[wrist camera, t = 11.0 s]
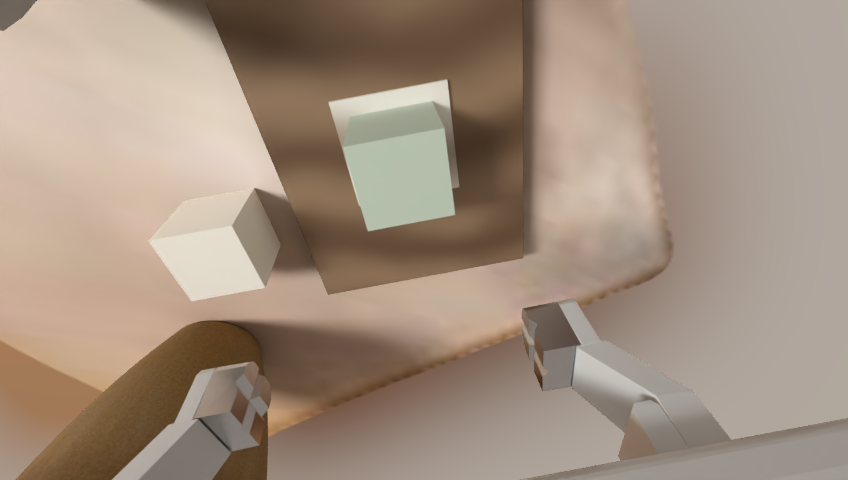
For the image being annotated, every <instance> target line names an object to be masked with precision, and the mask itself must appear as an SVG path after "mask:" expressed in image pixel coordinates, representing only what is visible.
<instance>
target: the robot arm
mask: <svg viewBox="0 0 848 480" xmlns="http://www.w3.org/2000/svg"><path fill="white" fill-rule="evenodd" d="M522 319H523V322H524V324H525V325H524V326H523V327H522V336H523V341H524V346H525V349H526V352H527V354H528V357H529V359H531V360H532V361H533V362H534V372H535V374H536V377H537V379H538V382H539V384H540V387H541V389H542V391H548V390H554V389H560V388H566V387H572V389H573V390H575V391H576V392H577V393H578V394H580V395H581V396H582V397H583V398H584V399H585V400H587V401H588V402H589V403H590V404H591V405H593V406H594V407H595V408H596V409H597V410H598V411H600V412H601V413H602V414H603V415H605V416H606V417H607V418H608V419H609V420H610V421H611V422H613V423H614V424H615V425H616V426H617V427H619V428H620V429H621V430H622V431H623V432H625V435H624V438H623V441H622V445H621V448H620V451H619V455H618V456H619V459H620V461H617V462H612V463H607V464H602V465H597V466H591V467H586V468H581V469H575V470H570V471H564V472H559V473H554V474H549V475H543V476H538V477H532V478H527V479H522V480H848V418H846V419H841V420H835V421H830V422H824V423H820V424H814V425H808V426H803V427H798V428H793V429H788V430H782V431H777V432H772V433H766V434H761V435H755V436H750V437H745V438H740V439H734V440H731V439H730V438H729V436H728V435H727V434H726V432H725V431H724V430H723V429H722V427H721V426H720V425H719V423H718V422H717V421H716V420H715V418H714V417H713V416H712V414H711V413H710V412H709V410H708V409H707V408H706V407H705V405H704V404H703V403H702V401H701V400H700V399H699V397H698V396H697V395H696V394H695V392H694V391H693V390H691V389H689V388H688V387H686V386H684V385H683V384H681V383H679V382H677V381H676V380H674V379H672V378H670V377H669V376H667V375H665V374H664V373H662V372H660V371H658V370H657V369H655V368H653V367H651V366H650V365H648V364H646V363H645V362H643V361H641V360H639V359H637V358H636V357H634V356H632V355H631V354H629V353H627V352H625V351H624V350H622V349H620V348H618V347H617V346H615V345H613V344H612V343H610V342H608V341H601V340H600V339H599V337H598V335H597V334H596V332H595V331H594V329H593V327H592V326H591V324H590V323H589V321H588V320H587V318H586V316H585V315H584V313H583V312H582V310H581V308H580V307H579V305H578V304H577V302H576V301H575V300H574V299H569V300H564V301H559V302H552V303H548V304H543V305H538V306H533V307H528V308H523V309H522ZM258 371H259V367H258V366H257V365H256V363H255V362H246V363H240V364H234V365H228V366H222V367H217V368H212V369H206V370H201V371H200V372H199V373H198V374H197V375H196V377H195V379H194V382H193V384H192V386H191V388H190V390H189V392H188V395H187V397H186V399H185V401H184V403H183V405H182V408H181V410H180V412H179V414H178V416H177V418H176V420H175V423H173V424H169V425H168V426H167V427H166V428H165V429H164V430H163V431H162V432H161V433H160V434H159V435H158V436H157V437H156V438H155V439H153V440H152V441H151V442H150V443H149V444H148V445H147V446H146V447H145V448H144V449H143V450H142V451H141V452H140V453H139V454H138V455H137V456H136V457H135V458H134V459H133V460H132V461H131V462H130V463H129V464H128V465H127V466H126V467H125V468H123V469H122V470H121V471H120V472H119V473H118V474H117V475H116V476H115V477H114V478H113V479H112V480H212V479H213V478H214V476H215V475H216V474H217V472H218V471H219V469H220V468H221V467H222V465H223V464H224V462H225V461H226V460H227V458H228V457H229V456H230V454H231V451H236V450H240V449H245V448H250V447H254V446H259V445H260V441H261V437H262V433H263V430H264V426H265V421H264V420H263V418H262V416H263V415H264V414H265V412H266V411H267V410H268V409H269V406H270V401H271V388H270V385H269V382H268V380H267V379H266V377H264V376H262V375H259V374H258Z"/></svg>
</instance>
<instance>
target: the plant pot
mask: <svg viewBox="0 0 848 480" xmlns="http://www.w3.org/2000/svg"><path fill="white" fill-rule="evenodd" d="M246 362H255V363H256V365H257V366H258V367H259V371H258V374H259V375H262V376H264V369H263V362H262V356H261V351H260V347H259V344H258V342H257V341H256V340H255V338H254V337H253V336H252V335H251V334H250V333H248V332H247V331H245V330H244V329H242V328H240V327H237V326H235V325H232V324H229V323H224V322H219V321H203V322H197V323H193V324H190V325H188V326H186V327H184V328H182V329H181V330H180V331H178V332H177V333H175V334H174V335H173V336H171V337H170V338H169V339H167V340H166V341H165V342H163V343H162V344H161V345H159V346H158V347H157V348H155V349H154V350H153V351H151V352H150V353H149V354H148V355H146V356H145V357H144V358H143V359H141V360H140V361H139V362H138V363H137V364H135V365H134V366H133V367H132V368H131V369H129V370H128V371H127V372H126V373H125V374H123V375H122V376H121V377H120V378H119V379H118V380H117V381H115V382H114V383H113V384H112V385H111V386H110V387H109V388H108V389H106V390H105V391H104V392H103V393H102V394H101V395H100V396H99V397H98V398H97V399H95V400H94V401H93V402H92V403H91V404H90V405H89V406H88V407H87V408H86V409H85V410H84V411H83V412H82V413H81V414H79V415H78V416H77V418H75V419H74V420H73V421H72V422H71V423H70V424H69V425H68V426H67V427H66V428H65V429H64V430H63V431H62V432H61V433H60V434H59V435H58V436H57V437H56V438H55V439H54V440H53V441H52V442H51V443H50V444H49V445H48V446H47V447H46V448H45V449H44V450H43V451H42V452H41V453H40V455H39V456H38V457H36V459H35V460H34V461H33V462H32V463H31V464H30V465H29V466H28V467H27V468H26V469H25V470H24V472H22V473H21V474H20V475H19V477H18V478H17V479H16V480H112V479H113V478H114V477H115V476H116V475H117V474H118V473H119V472H120V471H121V470H122V469H123V468H125V467H126V466H127V465H128V464H129V463H130V462H131V461H132V460H133V459H134V458H135V457H136V456H137V455H138V454H139V453H140V452H141V451H142V450H143V449H144V448H145V447H146V446H147V445H148V444H149V443H150V442H151V441H152V440H153V439H155V438H156V437H157V436H158V435H159V434H160V433H161V432H162V431H163V430H164V429H165V428H166V427H167V426H168V425H169V424H173V423H175V420H176V418H177V416H178V414H179V412H180V410H181V408H182V405H183V403H184V401H185V399H186V397H187V395H188V392H189V390H190V388H191V386H192V384H193V382H194V379H195V377H196V375H197V374H198V373H199V372H200V371H201V370H206V369H212V368H217V367H222V366H228V365H234V364H240V363H246ZM264 377H265V376H264ZM262 418H263V420H264V421H265V426H264V430H263V433H262V437H261V441H260V445H259V446H254V447H250V448H245V449H240V450H236V451H231V454H230V456H229V457H228V458H227V460H226V461H225V462H224V464H223V465H222V467H221V468H220V469H219V471H218V472H217V474H216V475H215V476H214V478H213V479H212V480H267V456H268V417H267V411H266V412H265V414H264V415H263V416H262Z"/></svg>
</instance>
